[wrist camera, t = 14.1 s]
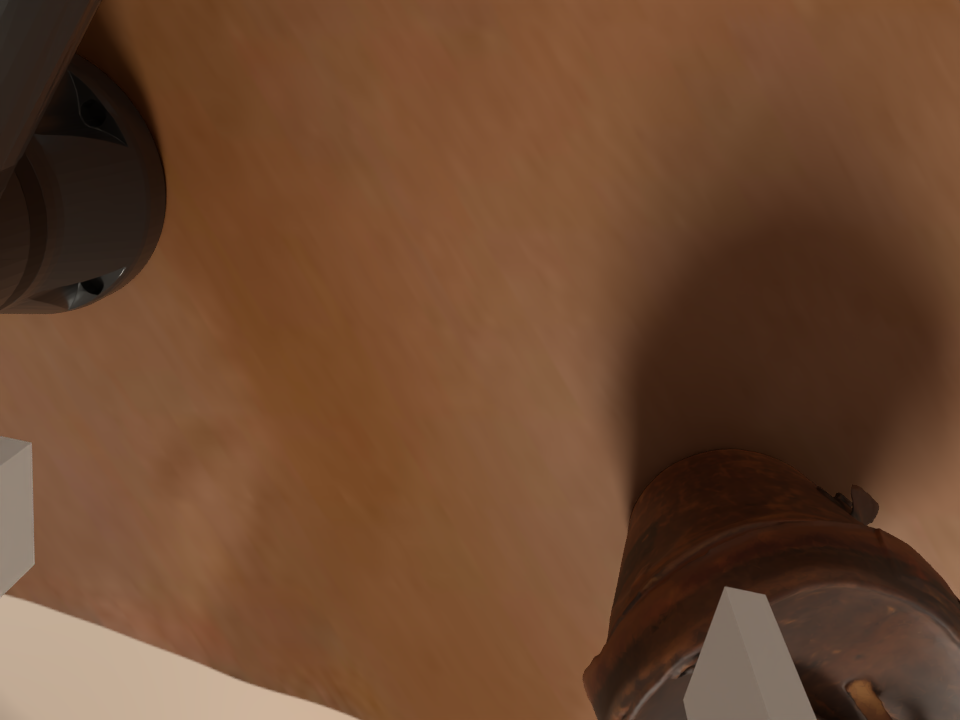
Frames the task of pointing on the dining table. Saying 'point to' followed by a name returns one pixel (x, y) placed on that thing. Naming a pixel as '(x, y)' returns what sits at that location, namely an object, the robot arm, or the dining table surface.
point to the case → (776, 595)
